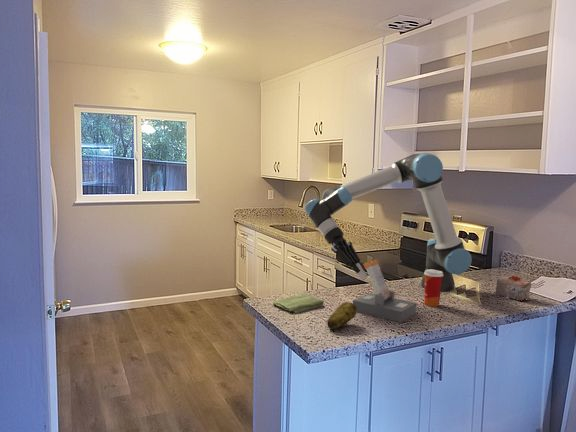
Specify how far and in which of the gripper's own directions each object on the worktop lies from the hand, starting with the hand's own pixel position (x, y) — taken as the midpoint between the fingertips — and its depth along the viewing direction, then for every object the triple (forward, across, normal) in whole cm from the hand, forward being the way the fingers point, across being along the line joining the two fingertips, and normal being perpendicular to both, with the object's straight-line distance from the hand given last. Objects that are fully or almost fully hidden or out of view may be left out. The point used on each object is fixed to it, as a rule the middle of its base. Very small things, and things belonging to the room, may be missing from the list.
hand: (364, 278), depth 181 cm
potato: (+12, +25, -5) cm, 28 cm away
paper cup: (+22, -22, +5) cm, 32 cm away
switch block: (+14, 0, -2) cm, 15 cm away
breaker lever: (+12, 0, +1) cm, 12 cm away
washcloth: (-5, +16, -23) cm, 29 cm away
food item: (+38, -58, +21) cm, 73 cm away
